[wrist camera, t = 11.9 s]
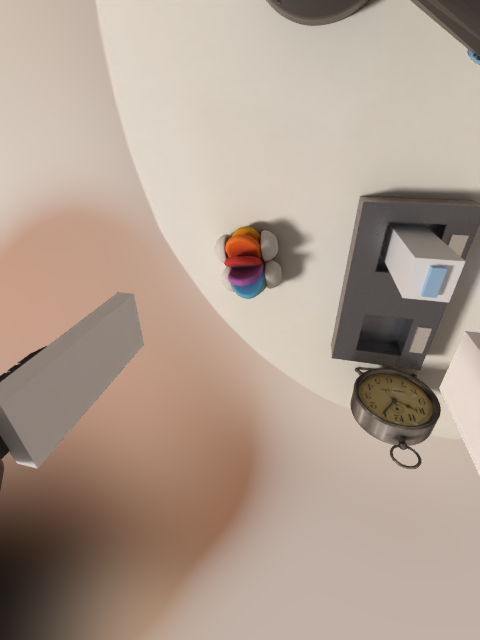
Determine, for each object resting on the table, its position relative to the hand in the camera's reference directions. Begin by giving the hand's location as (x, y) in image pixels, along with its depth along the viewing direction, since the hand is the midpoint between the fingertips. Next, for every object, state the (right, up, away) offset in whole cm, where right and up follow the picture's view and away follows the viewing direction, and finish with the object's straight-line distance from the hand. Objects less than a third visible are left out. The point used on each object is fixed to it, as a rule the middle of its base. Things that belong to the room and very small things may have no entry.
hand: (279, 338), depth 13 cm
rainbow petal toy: (0, +10, +31) cm, 33 cm away
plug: (+19, +10, +25) cm, 33 cm away
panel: (+19, +6, +28) cm, 34 cm away
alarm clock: (+22, -8, +36) cm, 43 cm away
